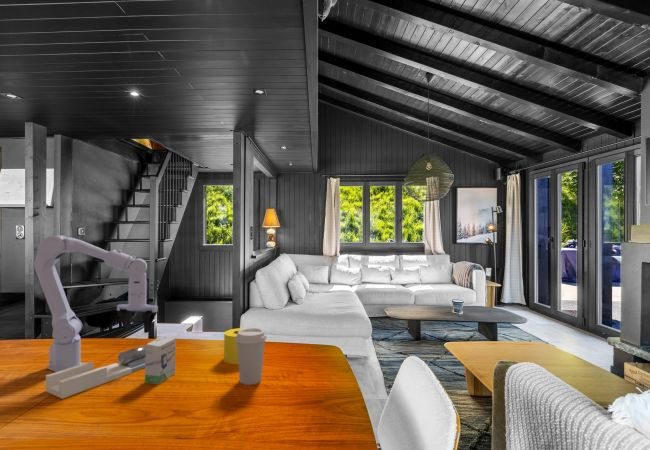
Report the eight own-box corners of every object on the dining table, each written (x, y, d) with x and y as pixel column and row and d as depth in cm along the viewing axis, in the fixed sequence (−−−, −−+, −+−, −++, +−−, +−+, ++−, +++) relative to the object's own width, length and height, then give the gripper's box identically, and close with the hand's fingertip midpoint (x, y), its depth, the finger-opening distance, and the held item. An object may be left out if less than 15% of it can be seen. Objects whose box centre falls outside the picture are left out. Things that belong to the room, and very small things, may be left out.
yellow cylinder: (258, 357, 132) (258, 331, 132) (238, 366, 123) (238, 338, 123) (238, 351, 137) (239, 326, 137) (218, 359, 129) (218, 333, 129)
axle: (126, 364, 117) (124, 351, 118) (119, 365, 119) (117, 353, 119) (154, 355, 126) (152, 343, 126) (146, 356, 127) (144, 345, 128)
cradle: (117, 367, 121) (117, 359, 121) (137, 360, 127) (137, 353, 127) (132, 372, 117) (132, 364, 117) (151, 364, 123) (152, 357, 123)
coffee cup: (272, 377, 114) (272, 329, 114) (254, 389, 105) (254, 338, 105) (247, 371, 118) (247, 325, 118) (228, 383, 109) (228, 333, 110)
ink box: (162, 372, 117) (162, 335, 117) (176, 373, 116) (176, 337, 116) (143, 383, 109) (144, 344, 109) (159, 385, 108) (159, 345, 108)
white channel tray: (45, 391, 103) (45, 375, 103) (115, 367, 121) (115, 354, 121) (62, 398, 99) (62, 382, 99) (131, 373, 117) (131, 359, 117)
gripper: (110, 294, 125) (110, 333, 125) (149, 296, 123) (148, 336, 123) (124, 290, 132) (124, 328, 132) (161, 292, 130) (161, 330, 130)
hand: (137, 331), depth 128 cm, fingers open, 7 cm apart
